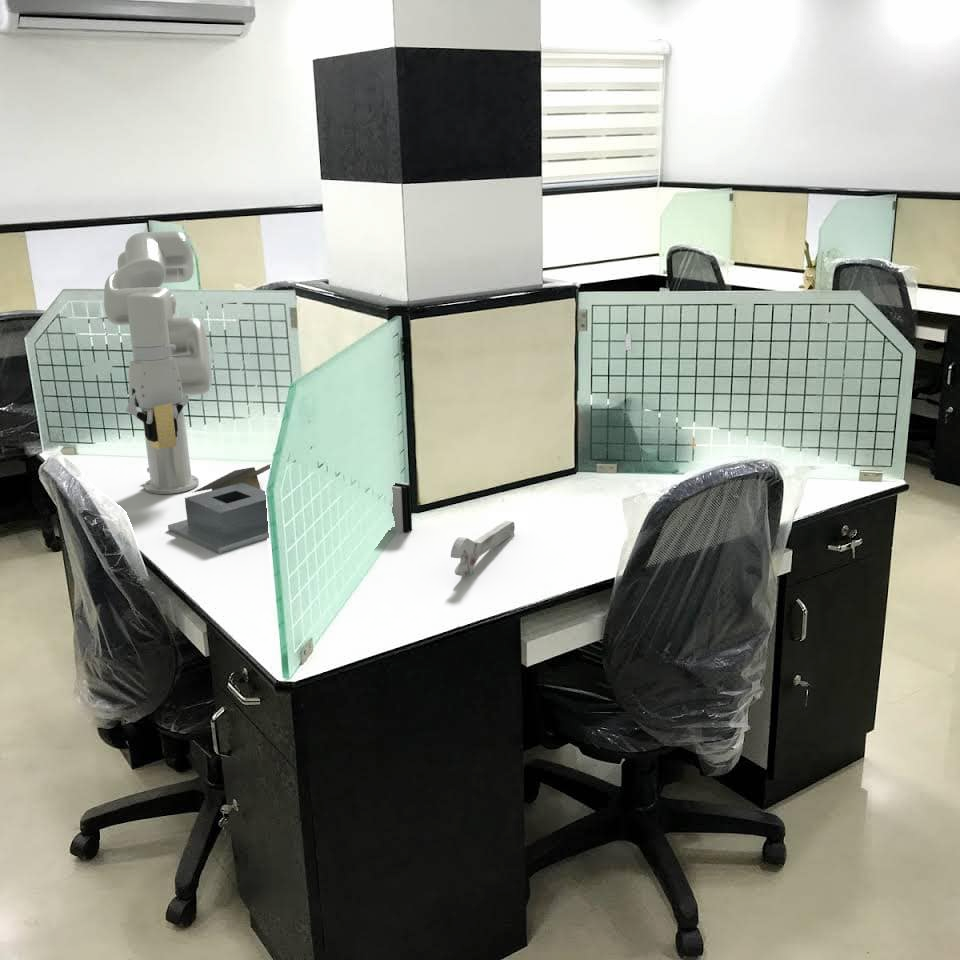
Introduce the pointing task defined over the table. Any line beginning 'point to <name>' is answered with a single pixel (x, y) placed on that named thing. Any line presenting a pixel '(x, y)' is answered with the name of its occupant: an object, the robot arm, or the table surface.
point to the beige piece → (237, 479)
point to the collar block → (225, 518)
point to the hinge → (401, 508)
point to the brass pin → (164, 427)
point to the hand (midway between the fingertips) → (162, 437)
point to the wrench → (478, 547)
